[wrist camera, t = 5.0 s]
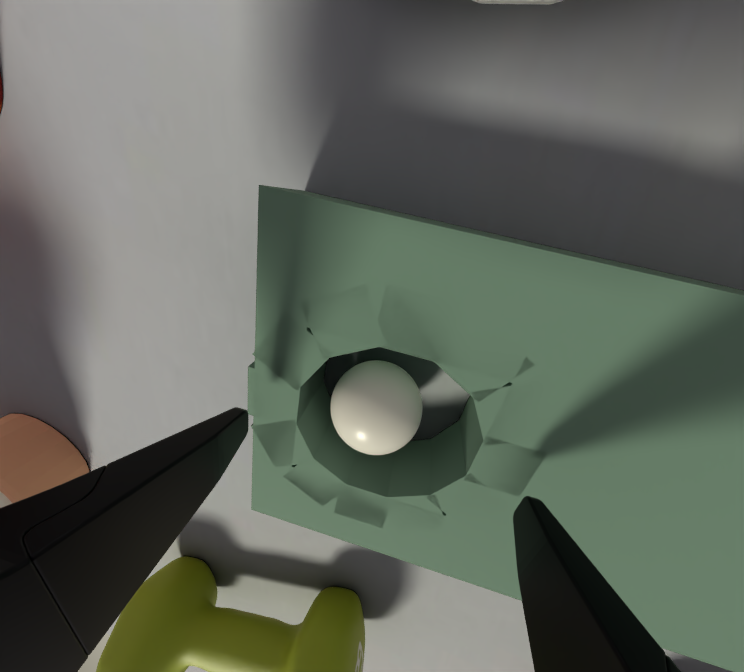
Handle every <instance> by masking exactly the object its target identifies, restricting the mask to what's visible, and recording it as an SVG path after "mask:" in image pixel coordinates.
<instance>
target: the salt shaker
mask: <svg viewBox="0 0 744 672" xmlns="http://www.w3.org/2000/svg"><path fill="white" fill-rule="evenodd" d="M86 473H89V469H88V466H87V463H86V461H85V460H84V458H83V457H82V455H81V454H80V452H79V451H78V450H77V449H76V448H75V447H74V446H73V445H72V443H71V442H70V441H69V440H68V439H67V438H65V437H64V436H63V435H62V434H60V433H59V432H58V431H56V430H55V429H54V428H52V427H51V426H49V425H47V424H45V423H44V422H42V421H40V420H38V419H36V418H33V417H30V416H27V415H24V414H9V415H6V416H4V417H2V418H0V508H2V507H4V506H7V505H10V504H12V503H15V502H18V501H20V500H23V499H25V498H28V497H31V496H33V495H36V494H38V493H41V492H43V491H46V490H48V489H51V488H53V487H56V486H58V485H61V484H63V483H65V482H68V481H70V480H72V479H75V478H77V477H79V476H82V475H84V474H86Z"/></svg>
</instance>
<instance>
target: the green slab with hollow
mask: <svg viewBox="0 0 744 672" xmlns="http://www.w3.org/2000/svg"><path fill="white" fill-rule="evenodd" d="M376 347H381V348H385V349H389V350H393V351H396V352H400V353H404V354H407V355H411V356H415V357H418V358H422V359H426V360H429V361H433V362H435V363H436V364H437V365H438V366H439V367H440V368H441V369H443V370H444V371H445V372H446V373H447V374H448V375H449V376H450V377H451V378H452V379H453V380H454V381H456V382H457V383H458V384H459V385H460V386H461V387H462V388H463V389H464V390H465V391H466V392H467V393H469V394H470V397H469V399H468V401H467V403H466V406H465V408H464V410H463V413H462V415H461V417H460V420H459V421H457V422H456V423H454V424H453V425H451V426H450V427H448V428H447V429H445V430H444V431H442V432H441V433H439V434H438V435H436V436H435V437H433V438H432V439H426V440H417V441H409V442H408V443H407V444H406V445H405V446H403V447H402V448H400V449H399V450H397V451H395V452H392V453H389V454H384V455H369V454H365V453H362V452H359V451H357V450H355V449H353V448H352V447H350V446H349V445H347V444H346V443H345V442H344V441H343V440H342V438H341V437H340V436H339V434H338V433H337V431H336V429H335V427H334V424H333V421H332V418H331V409H330V408H331V398H330V395H329V393H328V391H327V389H326V386H325V384H324V382H323V380H324V374H325V367H326V361H327V360H328V359H329V358H330V357H335V356H340V355H344V354H349V353H353V352H358V351H362V350H367V349H372V348H376ZM253 355H254V356H255V361H254V362H253V363H252V364H251V365H250V366H249V367H248V414H250V415H253V416H254V419H253V424H252V425H251V427H252V428H253V463H252V507H251V509H252V510H255V511H257V512H260V513H263V514H266V515H269V516H272V517H275V518H278V519H281V520H284V521H287V522H290V523H293V524H296V525H299V526H302V527H305V528H308V529H311V530H314V531H317V532H320V533H323V534H326V535H329V536H332V537H335V538H338V539H341V540H343V541H346V542H349V543H352V544H355V545H358V546H361V547H364V548H367V549H370V550H373V551H376V552H379V553H382V554H385V555H388V556H391V557H394V558H397V559H400V560H403V561H406V562H409V563H412V564H415V565H418V566H421V567H424V568H426V569H429V570H432V571H435V572H438V573H441V574H444V575H447V576H450V577H453V578H456V579H459V580H462V581H465V582H468V583H471V584H474V585H477V586H480V587H483V588H486V589H489V590H492V591H495V592H498V593H501V594H504V595H507V596H509V597H512V598H515V599H518V600H521V601H522V598H521V592H520V587H519V580H518V573H517V563H516V551H515V539H514V527H513V514H514V511H515V510H516V508H517V507H518V505H519V504H520V502H521V501H522V499H523V498H524V497H525V496H530V497H534V498H537V499H540V500H541V501H542V502H543V503H544V504H545V505H546V507H547V508H548V509H549V510H550V511H551V513H552V514H553V515H554V516H555V518H556V519H557V520H558V521H559V523H560V524H561V525H562V526H563V527H564V529H565V530H566V531H567V532H568V534H569V535H570V536H571V537H572V539H573V540H574V541H575V542H576V543H577V545H578V546H579V547H580V548H581V550H582V551H583V552H584V553H585V555H586V556H587V557H588V558H589V559H590V561H591V562H592V563H593V564H594V566H595V567H596V568H597V569H598V571H599V572H600V573H601V574H602V575H603V577H604V578H605V579H606V580H607V582H608V583H609V584H610V585H611V587H612V588H613V589H614V590H615V591H616V593H617V594H618V595H619V596H620V598H621V599H622V600H623V601H624V603H625V604H626V605H627V606H628V607H629V609H630V610H631V611H632V612H633V614H634V615H635V616H636V617H637V619H638V620H639V621H640V622H641V623H642V625H643V626H644V627H645V628H646V630H647V631H648V632H649V633H650V635H651V636H652V637H653V638H654V639H655V641H656V642H657V643H658V644H659V646H660V647H661V648H664V649H667V650H670V651H673V652H676V653H678V654H681V655H684V656H687V657H690V658H693V659H696V660H699V661H702V662H705V663H708V664H711V665H714V666H717V667H720V668H723V669H726V670H729V671H732V672H744V290H739V289H735V288H730V287H726V286H722V285H717V284H713V283H708V282H704V281H700V280H695V279H691V278H686V277H682V276H677V275H673V274H669V273H664V272H660V271H655V270H651V269H647V268H642V267H638V266H633V265H629V264H625V263H620V262H616V261H611V260H607V259H602V258H598V257H594V256H589V255H585V254H580V253H576V252H572V251H567V250H563V249H558V248H554V247H550V246H545V245H541V244H536V243H532V242H527V241H523V240H519V239H514V238H510V237H505V236H501V235H497V234H492V233H488V232H483V231H479V230H475V229H470V228H466V227H461V226H457V225H452V224H448V223H444V222H439V221H435V220H430V219H426V218H422V217H417V216H413V215H408V214H404V213H400V212H395V211H391V210H386V209H382V208H377V207H373V206H369V205H364V204H360V203H355V202H351V201H347V200H342V199H338V198H333V197H329V196H325V195H320V194H316V193H311V192H307V191H301V190H294V189H286V188H278V187H270V186H263V185H259V201H258V245H257V289H256V332H255V352H254V353H253Z"/></svg>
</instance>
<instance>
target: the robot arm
mask: <svg viewBox="0 0 744 672" xmlns="http://www.w3.org/2000/svg"><path fill="white" fill-rule="evenodd" d="M247 432H248V411H247V410H244V409H241V408H232V409H230V410H228V411H226V412H223V413H221V414H219V415H217V416H215V417H212V418H210V419H208V420H206V421H203V422H201V423H199V424H197V425H194V426H192V427H190V428H188V429H185V430H183V431H181V432H179V433H176V434H174V435H172V436H170V437H167V438H165V439H163V440H161V441H158V442H156V443H154V444H152V445H149V446H147V447H145V448H143V449H141V450H138V451H136V452H134V453H132V454H129V455H127V456H125V457H123V458H120V459H118V460H116V461H114V462H111V463H109V464H108V465H107V466H102V467H100V468H98V469H95V470H93V471H91V472H89V473H86V474H84V475H82V476H79V477H77V478H75V479H72V480H70V481H68V482H65V483H63V484H61V485H58V486H56V487H53V488H51V489H48V490H46V491H43V492H41V493H38V494H36V495H33V496H31V497H28V498H25V499H23V500H20V501H18V502H15V503H12V504H10V505H7V506H4V507H2V508H0V672H78V670H79V669H80V667H81V666H82V665H83V663H84V662H85V661H86V659H87V658H88V655H90V654H91V652H92V651H93V650H94V648H95V647H96V645H97V644H98V643H99V641H100V640H101V639H102V637H103V636H104V635H105V633H106V632H107V631H108V629H109V628H110V627H111V625H112V624H113V623H114V621H115V620H116V619H117V617H118V616H119V615H120V613H121V612H122V611H123V609H124V608H125V607H126V605H127V604H128V602H129V601H130V600H131V598H132V597H133V596H134V594H135V593H136V592H137V590H138V589H139V588H140V586H141V585H142V584H143V582H144V581H145V580H146V578H147V577H148V576H149V574H150V573H151V571H152V570H153V569H154V567H155V566H156V565H157V563H158V562H159V561H160V559H161V558H162V557H163V555H164V554H165V553H166V551H167V550H168V549H169V547H170V546H171V545H172V543H173V542H174V540H175V539H176V538H177V536H178V535H179V534H180V532H181V531H182V530H183V528H184V527H185V526H186V524H187V523H188V522H189V520H190V519H191V518H192V516H193V515H194V514H195V512H196V511H197V509H198V508H199V507H200V505H201V504H202V503H203V501H204V500H205V499H206V497H207V496H208V495H209V493H210V492H211V491H212V489H213V488H214V487H215V485H216V484H217V482H218V481H219V480H220V478H221V476H222V475H223V473H224V472H225V470H226V468H227V467H228V465H229V463H230V462H231V460H232V458H233V457H234V455H235V453H236V452H237V450H238V448H239V447H240V445H241V443H242V442H243V440H244V438H245V437H246V435H247ZM513 527H514V539H515V551H516V563H517V573H518V580H519V587H520V592H521V598H522V603H523V609H524V614H525V620H526V625H527V631H528V636H529V642H530V647H531V653H532V659H533V664H534V670H535V672H681V671H680V670H679V669H678V668H677V666H676V665H675V664H674V663H673V661H672V660H671V659H670V658H669V657H668V656H665V652H664V651H663V649H662V648H661V647H660V646H659V644H658V643H657V642H656V641H655V639H654V638H653V637H652V636H651V635H650V633H649V632H648V631H647V630H646V628H645V627H644V626H643V625H642V623H641V622H640V621H639V620H638V619H637V617H636V616H635V615H634V614H633V612H632V611H631V610H630V609H629V607H628V606H627V605H626V604H625V603H624V601H623V600H622V599H621V598H620V596H619V595H618V594H617V593H616V591H615V590H614V589H613V588H612V587H611V585H610V584H609V583H608V582H607V580H606V579H605V578H604V577H603V575H602V574H601V573H600V572H599V571H598V569H597V568H596V567H595V566H594V564H593V563H592V562H591V561H590V559H589V558H588V557H587V556H586V555H585V553H584V552H583V551H582V550H581V548H580V547H579V546H578V545H577V543H576V542H575V541H574V540H573V539H572V537H571V536H570V535H569V534H568V532H567V531H566V530H565V529H564V527H563V526H562V525H561V524H560V523H559V521H558V520H557V519H556V518H555V516H554V515H553V514H552V513H551V511H550V510H549V509H548V508H547V507H546V505H545V504H544V503H543V502H542V501H541V500H540V499H537V498H534V497H530V496H525V497H524V498H523V499H522V501H521V502H520V504H519V505H518V507H517V508H516V510H515V511H514V514H513Z"/></svg>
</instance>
